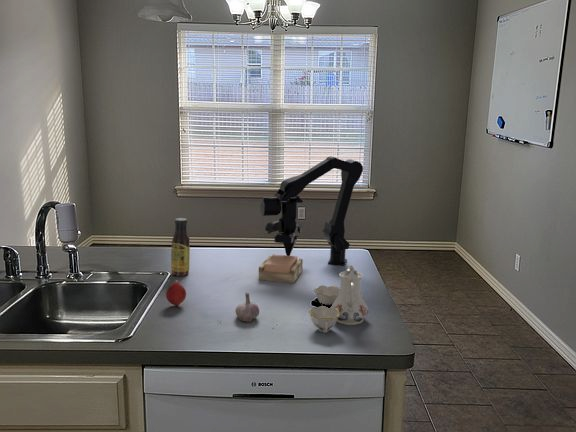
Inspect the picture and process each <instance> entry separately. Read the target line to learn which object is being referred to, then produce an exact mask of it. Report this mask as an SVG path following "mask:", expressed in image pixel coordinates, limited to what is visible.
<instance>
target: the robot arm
mask: <svg viewBox="0 0 576 432" xmlns="http://www.w3.org/2000/svg"><path fill="white" fill-rule="evenodd" d="M333 169H336V170H339V171H341V172H340V176H341V185H340V188H339V192H338V195H337V199H336V203H335V206H334V211H333V214H332V218H331V219H330V221H329V222H328V221H325V222H324V228H323V230H322V232H323V238H324V239H325V240H326V241H327V244H328V245H329V246H330V250H329V251H330V253H329V254H330V255H329V256H330V257H329V260H328V262H327V264H328V265H329V264H330V265H340V266H341V265H342V266H345V265H346V264H347V261H348V259H347V258H346V250H349V248H350V243H349V241H348V240H346V239H345V234H346V233H345V232H346V229H345V221H346V215H347V213H348V208H349V206H350V205H349V204H350V201H351V198H352V194H353V191H354V187H355V185H356V183H358V182H359V180H360V178H361V176H362V174H363V172H364V166H363V164H362V162H360V161H358V160H353V159H349V158H348V159H345V160H343V159H339V158H337V157H334V156H330V155H329V156H327V158H325V159H324V160H322V161H320V162H319V163H317V164H315V165H313V166H312V167H311V168H309V169H307V170H306V171H304V172H302V173H301V174H299V175H295V176H292V177H289V178H287V179H284V180H283V181H281V182H280V186H279V189H278V190H277V191H276V193H275V194H274V196H262V198H261V199H262V200H261V202H260V205H259V206H260V207H259V208H260V209H259V210H260V211H259V212H260V215H261V216H262V217H268V216H270V217H271V216H272V217H273V216H279V214H281V215H280V218H278V219H277V220H274V221H270V222H267V223H266V225H265V226H264V227H265V231H266V232H267V234H272V233H274V232H277V231H278V233H277V234H276V235H275V236H274V241H273V242H274V243H279V244H283V247H284V251H285V254H286V255H285V256H291V254H292V251H293V250H294V247H295V245H296V243H297V240H298V238H299V236H298V235H295V234H296V232H298V234H301V233H303V227H302V225H301V224H298V220H299V216H298V204H300V203H304V201H303V199H302V198H300V196H299V194H301V193H302V192H303V191H304V190H305V188H306V187H307V186H308V185H309V184H311V183H312V182H314V181H316V180H317V179H319V178H321V177H322V176H324V175H326V174H328V173H329V172H331V171H332V170H333Z"/></svg>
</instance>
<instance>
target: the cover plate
mask: <svg viewBox="0 0 576 432" xmlns="http://www.w3.org/2000/svg"><path fill="white" fill-rule="evenodd" d="M270 256H271V257H270V258H269V260H268V261H267V262H266V263H265V264H264V271H270V272H281V273H290V272H291V269H292V268H293V266H294V265H295V264H296V262H297V261H298V256H296V255H295V256H293V255H290V256H287V255H282V254H272V255H270Z"/></svg>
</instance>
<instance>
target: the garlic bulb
mask: <svg viewBox="0 0 576 432" xmlns="http://www.w3.org/2000/svg"><path fill="white" fill-rule="evenodd" d="M244 294H245V303H240V304H238V305H237V306H236V307H235V314H236V317H237V318H238V319H239V320H240V321H243V322H245V323H251V322H252V321H253V320H255V318H257V317H258V316H259V315H260V309H259V305H258V304H257V303H255V302H251V300H250V293H249V292H247V291H246V292H245V293H244Z"/></svg>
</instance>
